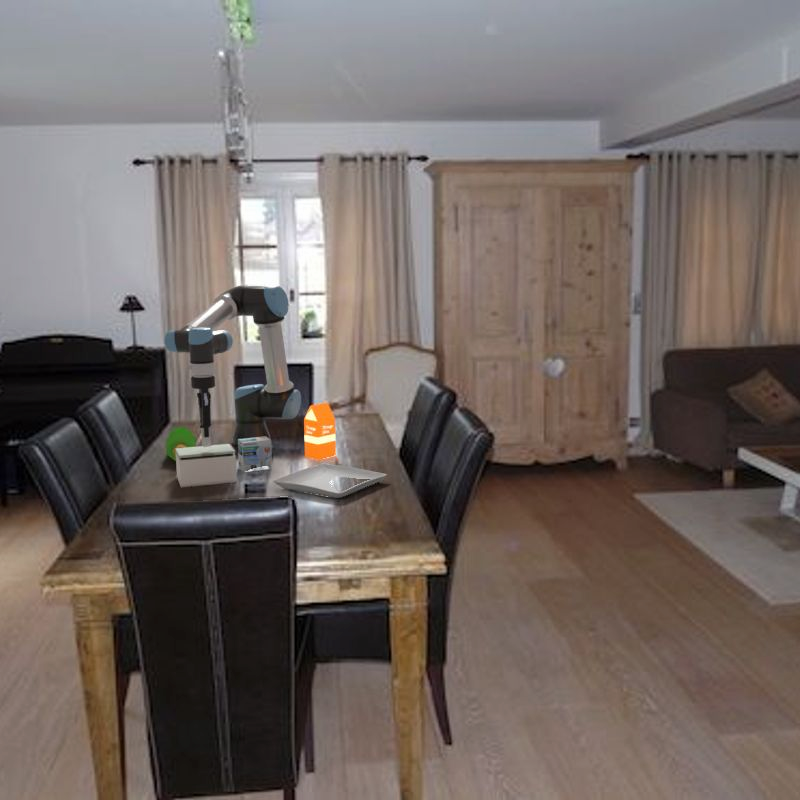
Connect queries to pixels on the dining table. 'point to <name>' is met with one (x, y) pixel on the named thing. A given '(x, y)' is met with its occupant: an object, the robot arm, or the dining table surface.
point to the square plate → (327, 479)
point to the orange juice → (319, 432)
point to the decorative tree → (179, 441)
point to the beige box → (206, 470)
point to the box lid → (204, 451)
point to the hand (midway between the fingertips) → (206, 446)
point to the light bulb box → (254, 453)
